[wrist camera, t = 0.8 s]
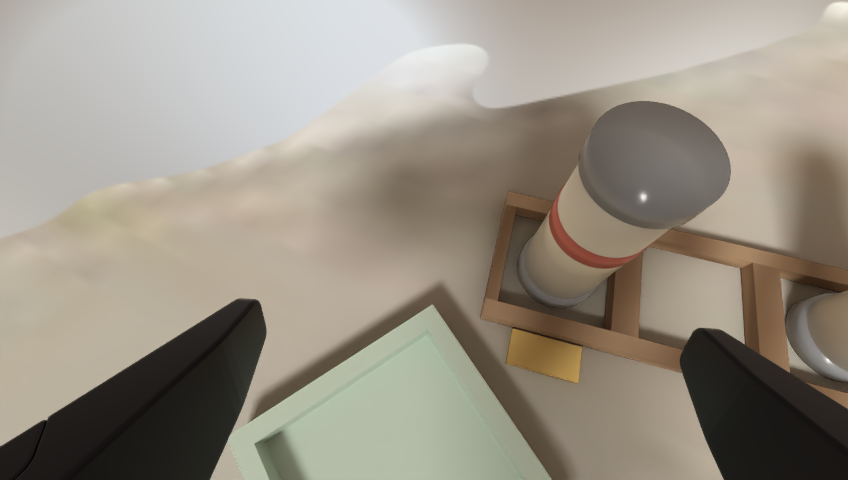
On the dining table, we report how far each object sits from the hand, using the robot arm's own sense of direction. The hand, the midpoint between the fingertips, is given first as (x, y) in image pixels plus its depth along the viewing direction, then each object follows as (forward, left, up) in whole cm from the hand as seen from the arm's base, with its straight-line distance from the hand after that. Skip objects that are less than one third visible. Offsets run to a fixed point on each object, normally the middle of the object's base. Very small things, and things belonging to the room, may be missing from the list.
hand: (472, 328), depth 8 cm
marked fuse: (+2, -10, -15) cm, 18 cm away
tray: (-2, +4, -15) cm, 16 cm away
